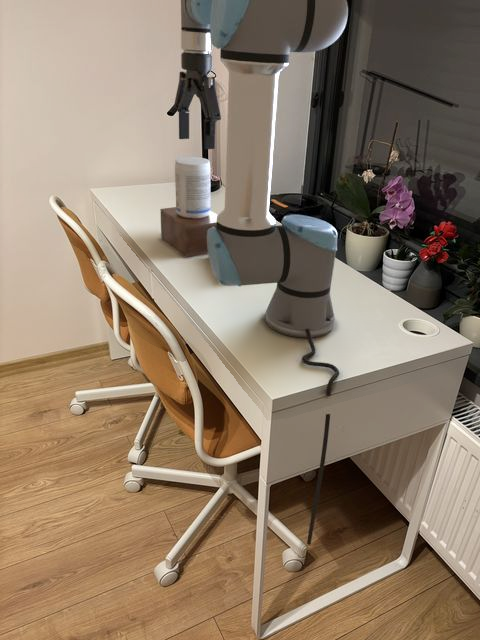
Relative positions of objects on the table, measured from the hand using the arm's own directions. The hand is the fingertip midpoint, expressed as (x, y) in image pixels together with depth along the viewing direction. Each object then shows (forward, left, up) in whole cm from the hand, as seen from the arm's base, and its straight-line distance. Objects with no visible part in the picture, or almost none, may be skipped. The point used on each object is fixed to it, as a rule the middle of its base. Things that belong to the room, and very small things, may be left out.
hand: (196, 143), depth 145 cm
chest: (+1, +1, -28) cm, 28 cm away
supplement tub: (+1, +1, -19) cm, 19 cm away
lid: (0, +1, -20) cm, 20 cm away
